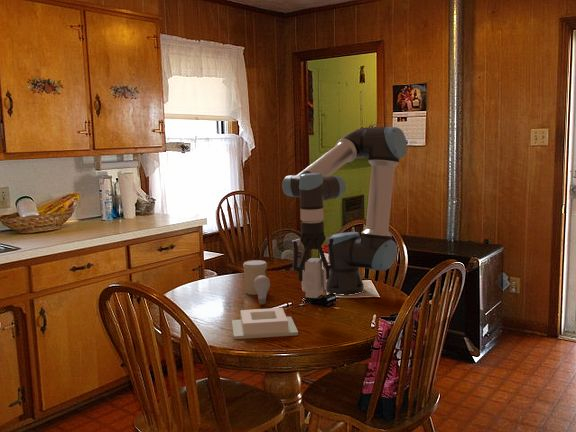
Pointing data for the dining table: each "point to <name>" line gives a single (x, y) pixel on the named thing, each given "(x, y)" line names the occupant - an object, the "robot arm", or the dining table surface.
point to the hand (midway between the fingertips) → (314, 289)
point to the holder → (263, 324)
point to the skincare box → (313, 278)
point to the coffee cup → (253, 274)
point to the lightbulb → (261, 288)
